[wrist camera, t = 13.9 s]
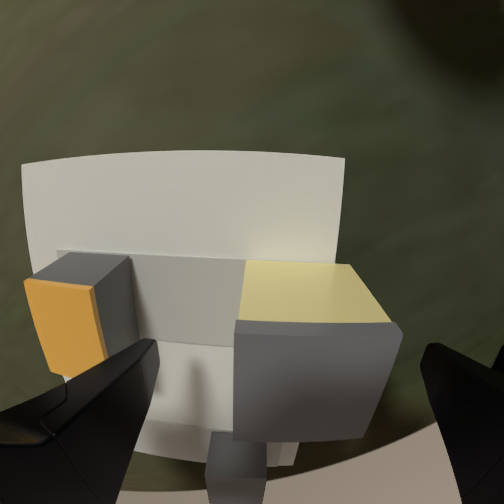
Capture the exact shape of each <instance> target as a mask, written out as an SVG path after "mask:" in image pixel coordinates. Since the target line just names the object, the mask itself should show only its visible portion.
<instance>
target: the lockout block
mask: <svg viewBox="0 0 504 504" xmlns="http://www.w3.org/2000/svg"><path fill="white" fill-rule="evenodd" d="M402 337H403V333H402V331H401V330H400V329H399V327H398V326H397V324H396V323H395V322H391V320H390V319H389V318H388V316H387V315H386V313H385V312H384V311H383V309H382V308H381V306H380V305H379V304H378V302H377V301H376V299H375V298H374V297H373V295H372V294H371V293H370V291H369V290H368V288H367V287H366V286H365V284H364V283H363V282H362V280H361V279H360V278H359V276H358V275H357V274H356V272H355V271H354V270H353V268H352V267H351V266H350V264H330V263H308V262H287V261H266V260H246V265H245V272H244V280H243V287H242V295H241V302H240V309H239V317H238V320H236V322H235V329H234V358H233V441H246V442H319V441H334V440H346V439H356V438H363V436H364V434H365V432H366V430H367V428H368V425H369V423H370V421H371V419H372V417H373V414H374V412H375V410H376V407H377V405H378V403H379V400H380V398H381V395H382V393H383V390H384V388H385V385H386V383H387V380H388V378H389V375H390V372H391V369H392V367H393V364H394V361H395V358H396V355H397V352H398V349H399V346H400V343H401V340H402Z"/></svg>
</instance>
